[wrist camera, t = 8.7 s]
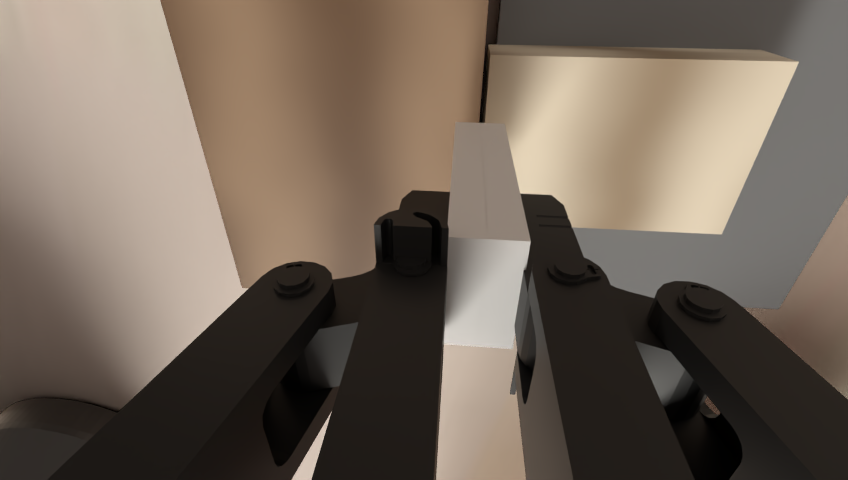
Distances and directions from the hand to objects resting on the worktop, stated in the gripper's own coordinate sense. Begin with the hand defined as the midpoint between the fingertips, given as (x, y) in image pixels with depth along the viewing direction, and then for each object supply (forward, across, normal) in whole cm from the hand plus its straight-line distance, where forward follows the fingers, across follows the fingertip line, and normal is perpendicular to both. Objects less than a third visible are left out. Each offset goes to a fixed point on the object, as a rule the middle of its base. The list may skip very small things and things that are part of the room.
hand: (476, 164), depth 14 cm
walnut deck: (+4, -5, 0) cm, 6 cm away
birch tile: (+3, +5, 0) cm, 6 cm away
